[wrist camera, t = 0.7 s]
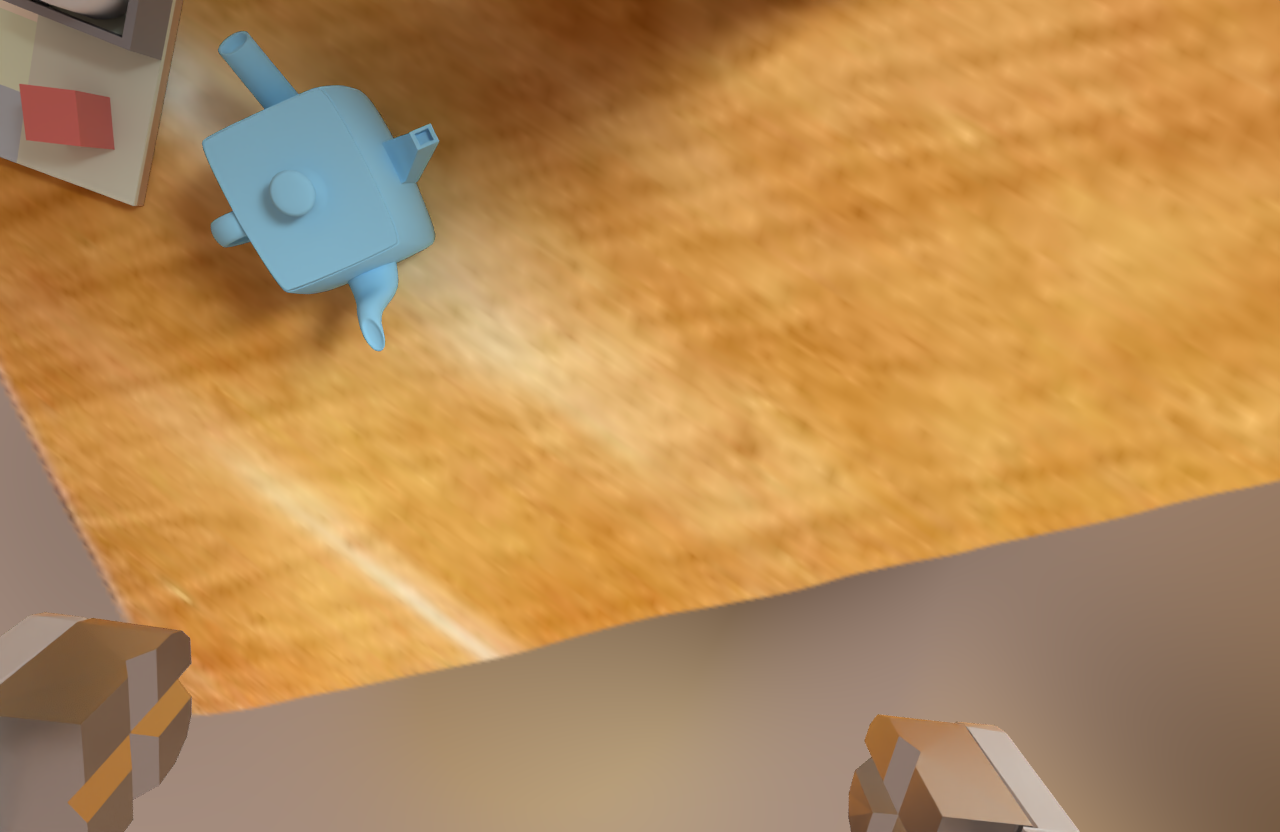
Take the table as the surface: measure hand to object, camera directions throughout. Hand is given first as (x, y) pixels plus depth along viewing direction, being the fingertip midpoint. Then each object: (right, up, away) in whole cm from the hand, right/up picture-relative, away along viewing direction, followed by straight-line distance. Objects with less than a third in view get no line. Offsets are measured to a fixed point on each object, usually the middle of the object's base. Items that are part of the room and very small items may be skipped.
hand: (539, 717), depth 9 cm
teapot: (-17, +18, +39) cm, 46 cm away
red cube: (-33, +22, +35) cm, 53 cm away
